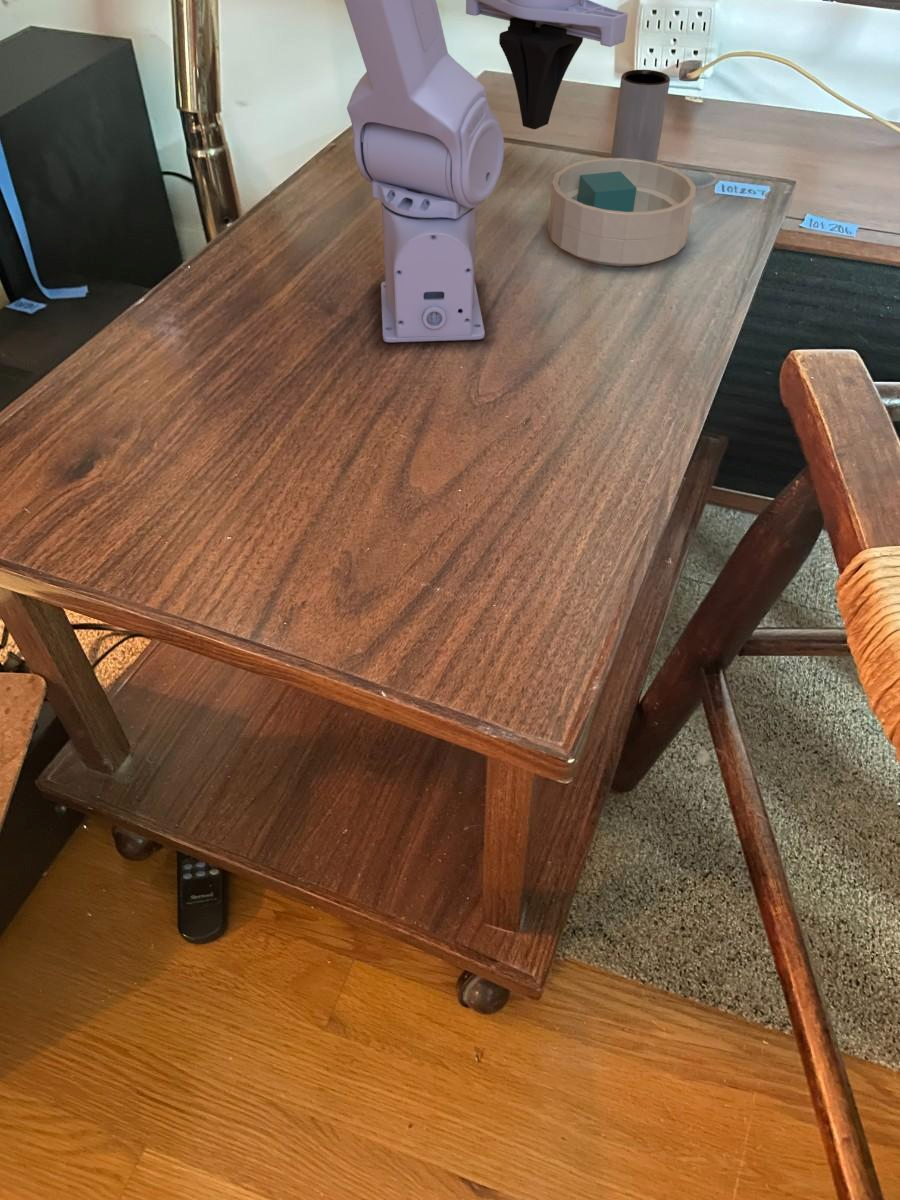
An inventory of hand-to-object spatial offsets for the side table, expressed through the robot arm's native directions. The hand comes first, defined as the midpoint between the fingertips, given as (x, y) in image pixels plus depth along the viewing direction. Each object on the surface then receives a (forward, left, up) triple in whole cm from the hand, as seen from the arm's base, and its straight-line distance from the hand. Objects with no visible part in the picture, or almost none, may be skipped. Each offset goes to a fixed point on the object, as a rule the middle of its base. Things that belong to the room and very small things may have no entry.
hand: (535, 124), depth 77 cm
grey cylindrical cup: (+10, -12, -10) cm, 18 cm away
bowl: (-2, -8, -9) cm, 13 cm away
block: (0, -7, -9) cm, 11 cm away
